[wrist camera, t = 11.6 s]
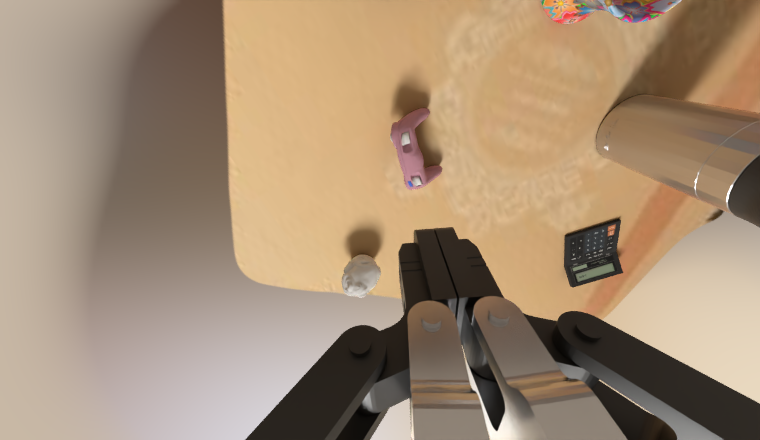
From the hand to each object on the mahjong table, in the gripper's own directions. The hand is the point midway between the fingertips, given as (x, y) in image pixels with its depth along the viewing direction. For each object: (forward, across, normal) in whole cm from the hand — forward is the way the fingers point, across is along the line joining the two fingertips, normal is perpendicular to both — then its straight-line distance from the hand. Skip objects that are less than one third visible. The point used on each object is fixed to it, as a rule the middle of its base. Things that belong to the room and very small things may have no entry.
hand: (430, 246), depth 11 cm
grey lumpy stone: (+29, +6, +25) cm, 39 cm away
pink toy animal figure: (+30, -3, +6) cm, 31 cm away
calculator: (+32, -37, +29) cm, 57 cm away
